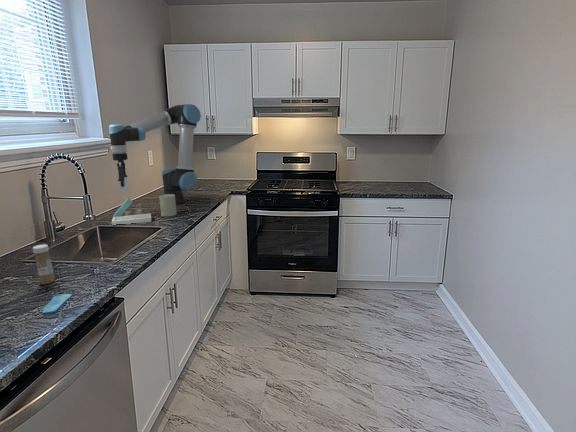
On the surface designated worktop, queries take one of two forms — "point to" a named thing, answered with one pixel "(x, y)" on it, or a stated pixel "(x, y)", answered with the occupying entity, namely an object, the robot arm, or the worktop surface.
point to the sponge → (56, 303)
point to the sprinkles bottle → (43, 264)
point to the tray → (132, 219)
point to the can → (167, 205)
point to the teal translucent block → (134, 211)
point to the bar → (123, 208)
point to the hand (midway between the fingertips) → (124, 190)
